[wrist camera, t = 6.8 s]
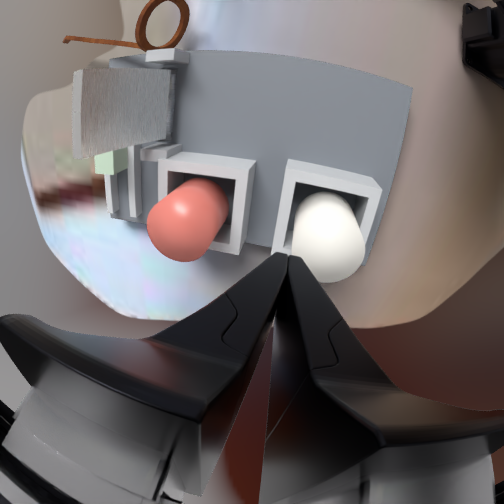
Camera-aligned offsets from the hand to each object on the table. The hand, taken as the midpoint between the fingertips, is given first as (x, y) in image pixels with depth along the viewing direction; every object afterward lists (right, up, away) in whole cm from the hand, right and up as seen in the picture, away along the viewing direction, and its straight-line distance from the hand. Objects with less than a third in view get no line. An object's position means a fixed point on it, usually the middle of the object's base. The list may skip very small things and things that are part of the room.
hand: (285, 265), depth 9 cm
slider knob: (-11, +8, +10) cm, 17 cm away
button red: (-4, +4, +9) cm, 11 cm away
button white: (+3, +2, +8) cm, 9 cm away
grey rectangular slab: (-7, +10, +7) cm, 14 cm away
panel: (-2, +8, +11) cm, 14 cm away
